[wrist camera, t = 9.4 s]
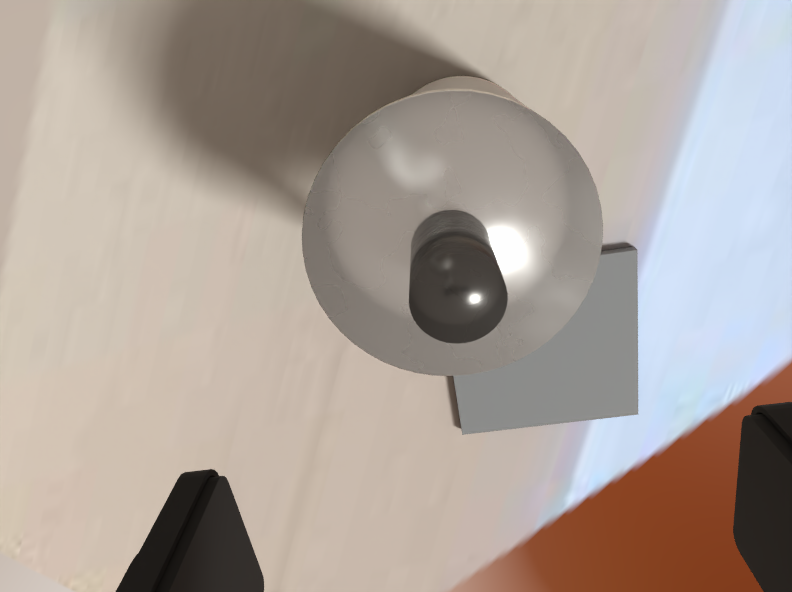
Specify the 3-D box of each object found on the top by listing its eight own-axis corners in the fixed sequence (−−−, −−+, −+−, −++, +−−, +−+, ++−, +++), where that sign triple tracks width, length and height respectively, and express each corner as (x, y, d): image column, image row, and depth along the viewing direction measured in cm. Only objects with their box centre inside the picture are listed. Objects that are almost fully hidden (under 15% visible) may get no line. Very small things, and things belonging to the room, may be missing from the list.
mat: (438, 274, 37) (438, 278, 36) (633, 246, 36) (637, 249, 35) (461, 429, 42) (462, 434, 41) (635, 409, 41) (638, 414, 40)
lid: (274, 118, 23) (228, 146, 17) (589, 61, 22) (647, 71, 16) (339, 380, 28) (320, 466, 22) (601, 345, 26) (648, 427, 21)
